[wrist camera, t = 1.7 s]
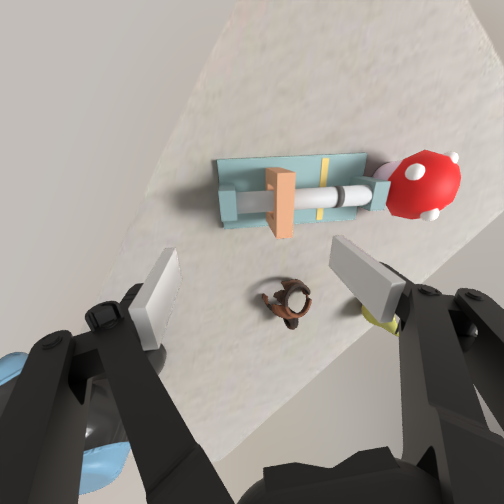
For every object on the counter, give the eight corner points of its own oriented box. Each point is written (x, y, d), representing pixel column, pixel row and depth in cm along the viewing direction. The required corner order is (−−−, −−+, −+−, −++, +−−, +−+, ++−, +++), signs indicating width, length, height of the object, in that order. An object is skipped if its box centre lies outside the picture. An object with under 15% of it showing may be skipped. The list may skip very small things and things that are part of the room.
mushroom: (376, 142, 37) (438, 139, 26) (426, 157, 39) (502, 160, 28) (351, 202, 41) (396, 220, 31) (398, 212, 44) (455, 233, 33)
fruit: (368, 287, 52) (406, 324, 41) (389, 297, 54) (430, 334, 43) (351, 307, 54) (382, 346, 43) (371, 316, 56) (406, 355, 45)
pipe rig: (224, 227, 41) (223, 244, 33) (217, 159, 35) (215, 162, 28) (352, 218, 43) (378, 232, 35) (364, 152, 38) (398, 153, 30)
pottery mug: (254, 284, 48) (275, 291, 41) (286, 267, 52) (310, 272, 45) (269, 329, 50) (291, 344, 43) (298, 310, 54) (323, 321, 47)
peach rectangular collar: (265, 220, 39) (276, 238, 31) (265, 167, 35) (277, 173, 27) (278, 219, 39) (292, 237, 31) (279, 167, 35) (295, 172, 27)
